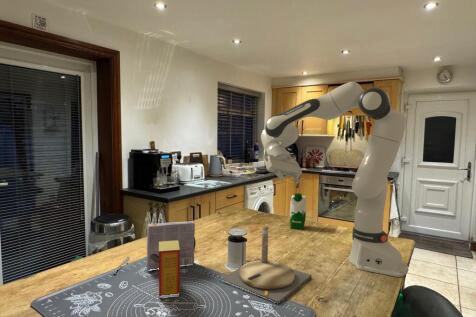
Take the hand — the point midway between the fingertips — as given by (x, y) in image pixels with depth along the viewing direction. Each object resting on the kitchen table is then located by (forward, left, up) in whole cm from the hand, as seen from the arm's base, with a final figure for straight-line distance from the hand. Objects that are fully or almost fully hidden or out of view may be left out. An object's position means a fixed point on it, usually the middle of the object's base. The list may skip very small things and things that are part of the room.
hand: (290, 181), depth 136 cm
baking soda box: (+15, +55, -33) cm, 65 cm away
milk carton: (+15, -38, -33) cm, 53 cm away
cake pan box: (+29, +42, -33) cm, 60 cm away
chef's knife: (+45, +52, -33) cm, 77 cm away
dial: (-6, +27, -31) cm, 41 cm away
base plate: (-6, +27, -33) cm, 42 cm away
